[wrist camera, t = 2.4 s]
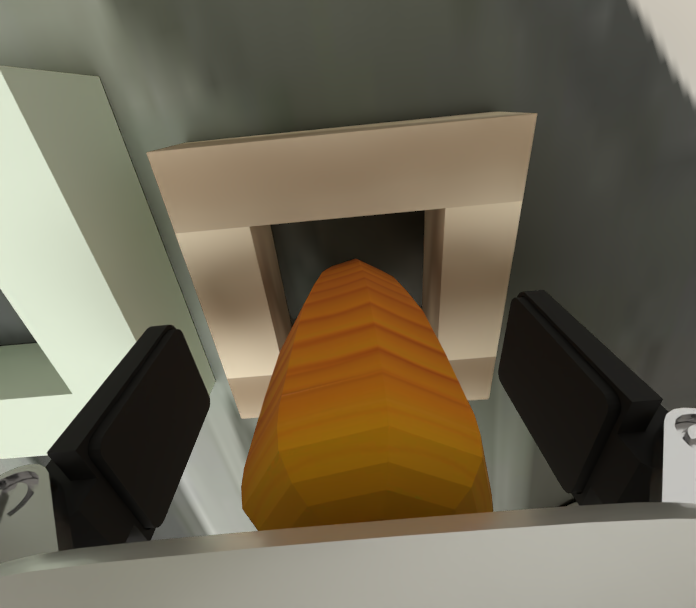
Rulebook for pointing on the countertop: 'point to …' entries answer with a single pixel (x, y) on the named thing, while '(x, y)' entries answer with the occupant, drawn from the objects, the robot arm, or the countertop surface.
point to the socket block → (351, 201)
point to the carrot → (362, 415)
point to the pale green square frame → (73, 255)
